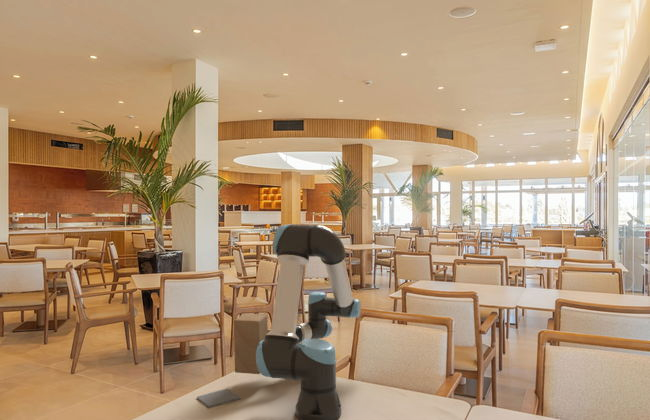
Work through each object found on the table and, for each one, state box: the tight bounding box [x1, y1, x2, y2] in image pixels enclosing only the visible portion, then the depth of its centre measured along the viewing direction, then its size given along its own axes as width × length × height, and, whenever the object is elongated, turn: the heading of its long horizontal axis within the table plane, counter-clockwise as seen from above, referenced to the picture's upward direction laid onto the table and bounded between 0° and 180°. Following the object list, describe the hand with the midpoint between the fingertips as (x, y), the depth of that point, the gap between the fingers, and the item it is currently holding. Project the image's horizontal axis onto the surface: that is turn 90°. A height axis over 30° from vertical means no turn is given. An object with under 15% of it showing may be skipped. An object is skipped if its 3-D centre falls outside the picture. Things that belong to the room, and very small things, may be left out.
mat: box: [196, 387, 241, 409], centre depth 166 cm, size 10×12×1 cm
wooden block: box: [233, 313, 269, 375], centre depth 178 cm, size 10×10×20 cm
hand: (252, 342), depth 179 cm, fingers closed on wooden block, 13 cm apart
